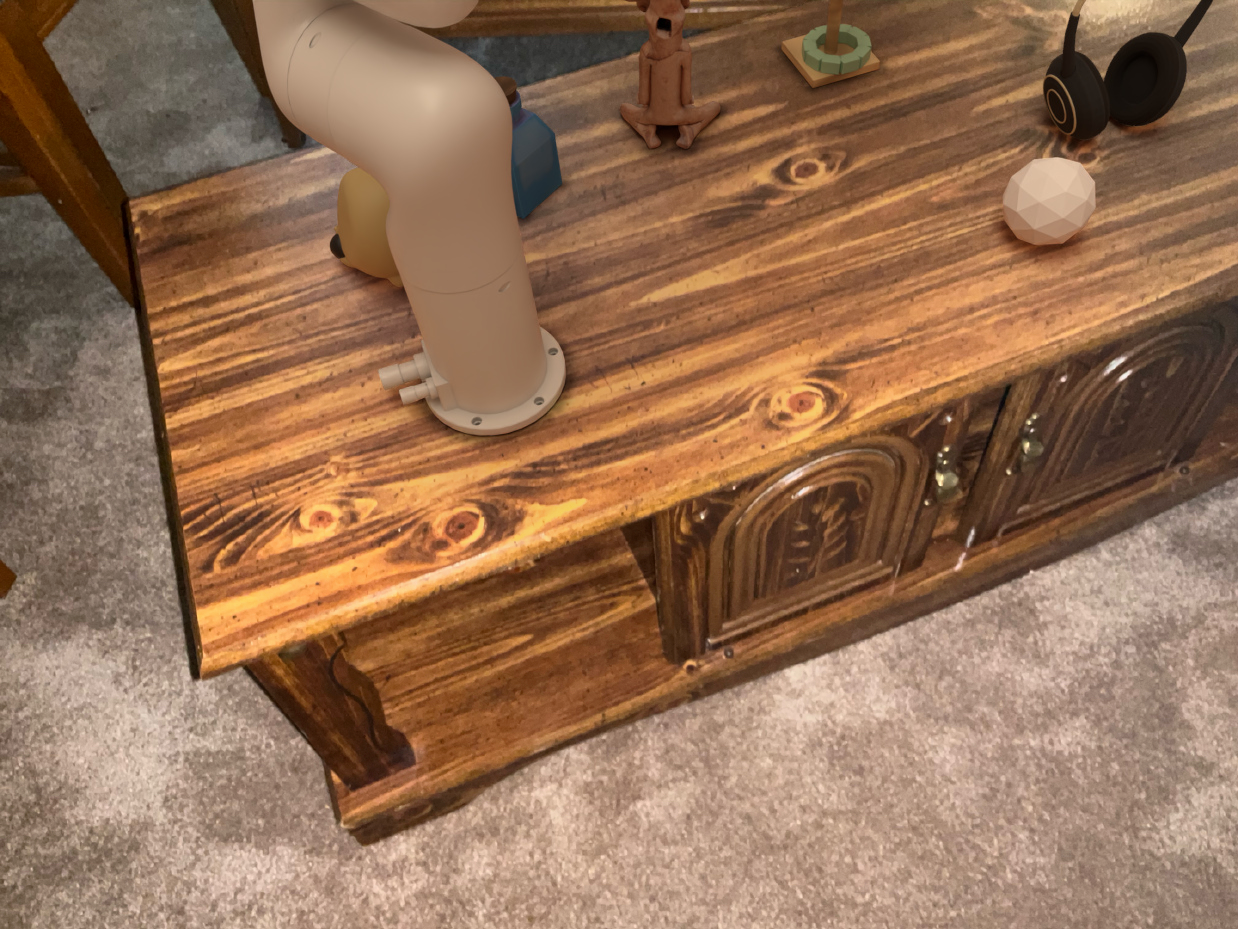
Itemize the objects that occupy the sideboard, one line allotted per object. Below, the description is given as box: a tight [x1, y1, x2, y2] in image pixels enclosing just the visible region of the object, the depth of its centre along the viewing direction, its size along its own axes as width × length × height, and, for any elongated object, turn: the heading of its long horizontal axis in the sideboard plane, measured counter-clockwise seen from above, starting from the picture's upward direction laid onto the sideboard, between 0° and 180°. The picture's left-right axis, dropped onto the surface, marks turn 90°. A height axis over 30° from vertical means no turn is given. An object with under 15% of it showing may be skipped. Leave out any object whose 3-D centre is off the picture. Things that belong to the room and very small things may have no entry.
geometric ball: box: [1002, 156, 1097, 246], centre depth 86 cm, size 8×8×8 cm
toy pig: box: [329, 166, 404, 288], centre depth 90 cm, size 10×12×11 cm
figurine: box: [619, 0, 721, 150], centre depth 94 cm, size 10×8×20 cm
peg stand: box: [780, 0, 881, 89], centre depth 102 cm, size 8×8×11 cm
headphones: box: [1042, 0, 1214, 141], centre depth 89 cm, size 9×15×20 cm, turn 105°
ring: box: [802, 23, 873, 75], centre depth 105 cm, size 7×7×1 cm
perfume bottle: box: [493, 75, 563, 220], centre depth 93 cm, size 6×6×12 cm
